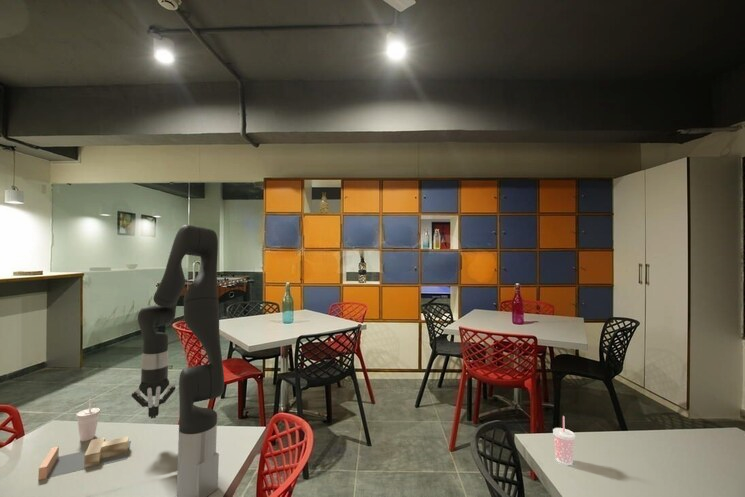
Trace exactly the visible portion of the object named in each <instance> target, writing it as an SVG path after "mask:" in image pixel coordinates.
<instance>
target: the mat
mask: <svg viewBox="0 0 745 497" xmlns="http://www.w3.org/2000/svg"><path fill="white" fill-rule="evenodd" d="M131 443H132V440H129V441H128V451H127V453H123V454H119V455H114V456H110V457H106V458H101V460H100V463H99V464H97V465H93V466H89V467H85V468H84V456H85V453H86V451H87V450H83V451H79V452H73V453H69V454H65V455H61V456H59V455H58V458H57V460H56V462H55V464H54V465H53V467H52V469H51V471H50V472H49V474H48V476H47V478H45V479H50V478H53V477H54V478H55V477H57V476H61V475H66V474H70V473H75V472H78V471H83V470H87V469H91V468H96V467H100V466H104V465H108V464H112V463H116V462H121V461H126V460H128V457H129V453H130V448H131ZM45 479H44V480H45ZM41 480H43V479H41Z"/></svg>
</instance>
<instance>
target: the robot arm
mask: <svg viewBox="0 0 745 497" xmlns="http://www.w3.org/2000/svg"><path fill="white" fill-rule="evenodd" d="M218 246H219V242H218V234H217V232H216V231H215V230H214V229H211V228H207V227H203V226H197V225H192V224H191V225H190V224H184V225H182V226H181V227H179V229H178V231H177V233H176V234H175V237H174V240H173V243H172V246H171V248H170V249H171V250H170V252H169V256H168V259H167V264H166V266H165V270H164V274H163V276H162V277H161V280H160V283H159V285H158V287H156V291H155V293H154V295H153V302H154V303H155V305H148V306H144V307H142V308H141V309H140V310H139V311H138V314H137V323H138V327H139V329H140V331H141V336H142V342H143V344H142V357H141V365H140V368H141V370H140V371H141V372H140V373H141V374H140V377H141V378H140V384H139V386H138V388H137V389H136V390H133V391H132V392H131V398H132V399H133V400H135V401H136V402H137V403H138V404H139V405H140V406H141V407H142V408H145V407H147V408H148V414H147V415H148V418H150V419H151V420H152V419H156V418H157V417H158V416H159V412H160V411H159V410H160V406H161V405H163V404H166V402H167V400H168V399H169V398H170V397H171V395H173V393H174V392H175V390H176V384H172V383H170V380H169V379H168V378H169V376H168V375H169V349H168V348H169V347H168V346H169V345H168V344H169V336H168V334H167V333H166V332H157V331H156V329H155V327H160V326H166V325H170V324H171V323H172V322H173V321H174V320H175V317H176V312H177V310H176V309H177V305H178V301H179V299H180V297H181V295H182V293H183V291H184V289H185V285H186V276H185V273H184V271H183V267H182V266H183V265H182V263H183V259H184V257H185V256H186V255H187V256H192V257H193V256H195V257H200V269H199V272H198V274H197V275H196V277H195V278H194V280H193V281H192V283H191V284H190V285H189V286H188V289H187V290H186V292H185V294H184V297H183V320H184V322H185V324H186V326H187V328H188V329H189V330H190V332H192V334H193V335H194V336H195V337H196V338H197V340H198V341H199V342H200V344H201V345H202V347H203V349H204V351H205V353H206V356H207V359H208V363H206V364H200V365H194V366H188V367H185V368H182V370H181V371H180V373H179V377H178V395H179V417H178V439H177V440H178V441H177V442H178V443H177V444H178V445H177V448H178V449H177V472H176V473H177V475H176V476H177V477H176V483H177V484H176V497H209V496H210V495H212V493H214V492H215V491H217V490H218V488H219V462H220V461H219V459H220V458H219V456H220V454H219V453H218V452H217V433H218V430H217V429H218V413H217V411H216V410H214V409H212V408H208V407H207V408H206V407H201V406H197V405H195V404H194V403H198V402H202V401H203V402H204V401H208V400H213V399H217V398H220V397H221V396H222V395H223V393H224V390H225V375H224V373H225V371H224V366H223V356H222V348H221V346H222V345H221V340H220V339H221V337H220V336H221V334H220V307H219V306H220V304H219V302H220V301H219V290H218V250H219V247H218ZM166 389H167V390H166ZM165 390H166V392H165ZM164 392H165V393H164ZM163 393H164V395H163V396H162V397H161V398H160V396H161V395H162V394H163ZM142 394H143V395H144V396H145V397H147V400H146V399H145V397H143V396H142ZM154 397H155V398H154Z"/></svg>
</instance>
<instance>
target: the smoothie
mask: <svg viewBox="0 0 745 497" xmlns="http://www.w3.org/2000/svg"><path fill="white" fill-rule="evenodd" d="M88 401H89V403H88V408H85V409H84V410H80V411H78V412H76V413H75V414H76V416H75V418H76V419H77V425H78V426H77V427H78V435H79V441H80V442H86V441H91V440H93V439H95V437H96V432H97V427H98V421H99V415H100V414H101V409H100V408H98V407H92V398H89V399H88Z"/></svg>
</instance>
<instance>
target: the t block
mask: <svg viewBox="0 0 745 497" xmlns="http://www.w3.org/2000/svg"><path fill="white" fill-rule="evenodd" d="M129 437H130V436H123V437H119V438H115V439H114V438H113V439H109V440H106V436H105V437H104V436H103V437H98V438H93V439H91V440H90V442H89V445H88V447H87V449H86V450H85V451H86V453H85V456H84V468H85V467H89V466H93V465H97V464H99V463H100V460H101V458H106V457H110V456H114V455H119V454H123V453H127V451H128V442H129V441H130V440H129Z"/></svg>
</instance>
